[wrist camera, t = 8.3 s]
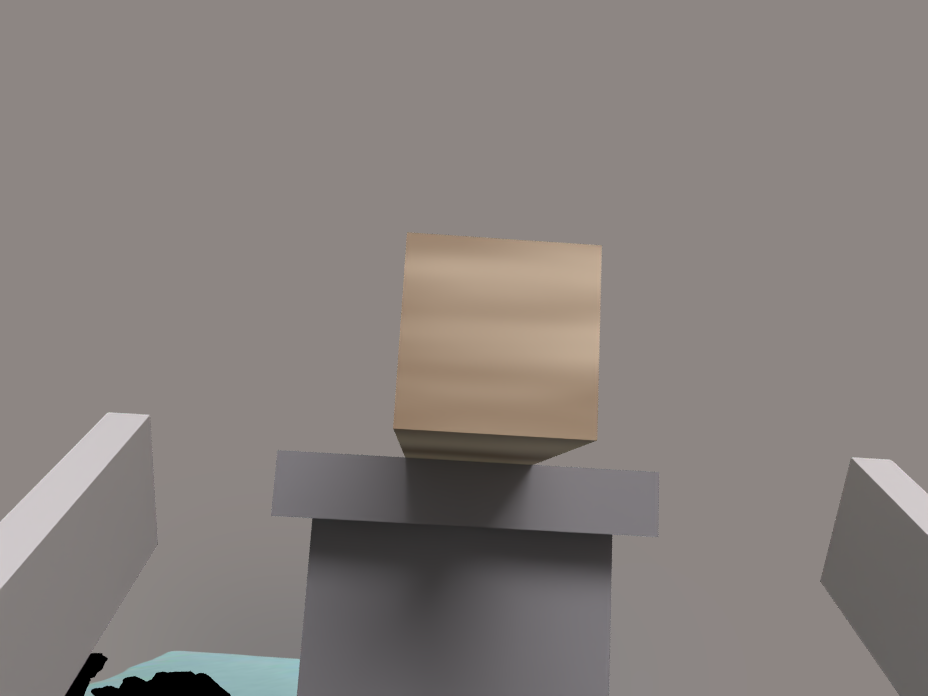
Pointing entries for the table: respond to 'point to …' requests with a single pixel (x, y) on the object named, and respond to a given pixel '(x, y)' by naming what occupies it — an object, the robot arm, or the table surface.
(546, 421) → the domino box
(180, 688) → the bowl of black rocks
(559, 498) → the shelf post
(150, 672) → the table surface
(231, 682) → the table surface
